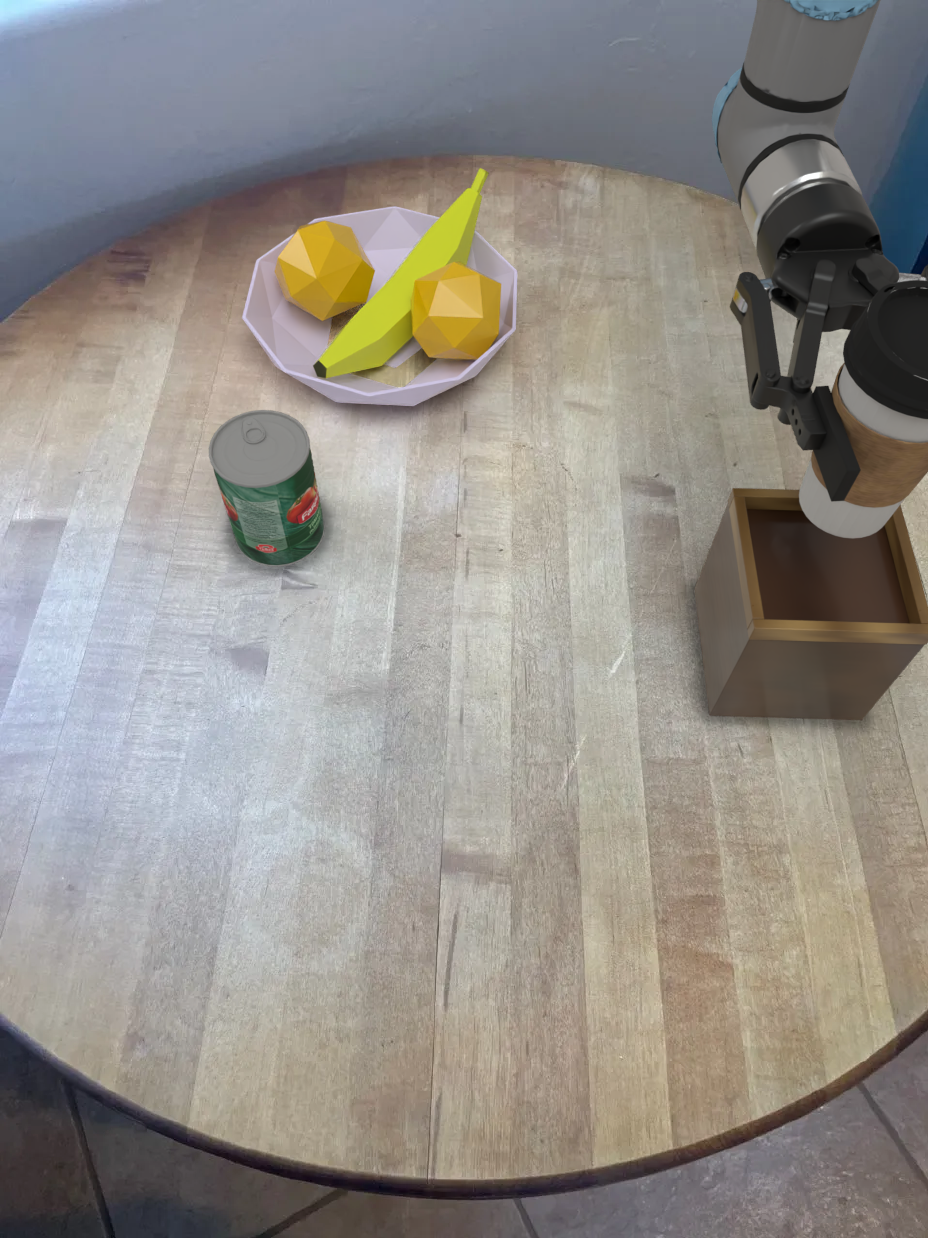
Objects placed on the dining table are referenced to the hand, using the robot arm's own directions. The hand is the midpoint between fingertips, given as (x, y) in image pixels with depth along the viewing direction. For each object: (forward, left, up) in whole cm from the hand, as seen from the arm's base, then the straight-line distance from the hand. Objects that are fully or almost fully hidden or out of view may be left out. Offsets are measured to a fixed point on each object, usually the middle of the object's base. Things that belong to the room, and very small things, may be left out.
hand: (916, 481), depth 55 cm
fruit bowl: (+39, -35, -26) cm, 58 cm away
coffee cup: (+1, -5, -8) cm, 10 cm away
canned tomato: (+44, -9, -26) cm, 52 cm away
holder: (+1, -4, -26) cm, 26 cm away
